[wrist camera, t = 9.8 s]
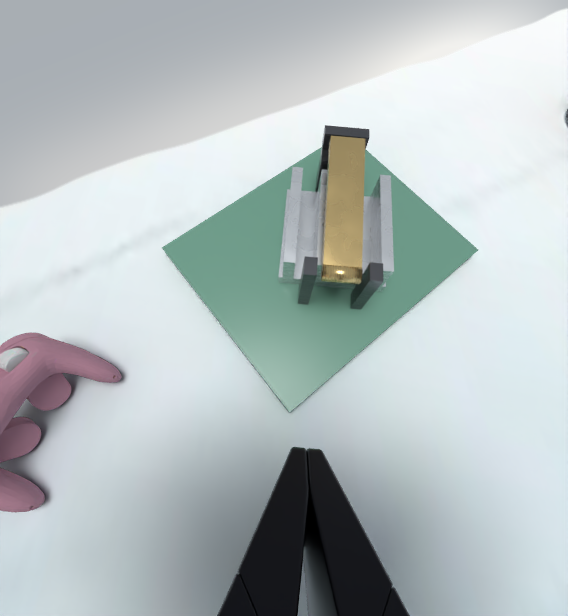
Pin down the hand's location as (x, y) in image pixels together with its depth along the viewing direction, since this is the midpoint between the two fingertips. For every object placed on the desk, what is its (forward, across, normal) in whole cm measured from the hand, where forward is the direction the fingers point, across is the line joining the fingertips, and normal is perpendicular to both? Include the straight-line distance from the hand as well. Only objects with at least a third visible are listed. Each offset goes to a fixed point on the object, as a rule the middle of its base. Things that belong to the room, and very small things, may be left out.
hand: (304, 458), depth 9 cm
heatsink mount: (+20, -2, -2) cm, 20 cm away
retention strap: (+16, -2, -4) cm, 17 cm away
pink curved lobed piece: (+10, +16, +10) cm, 21 cm away
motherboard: (+20, -2, 0) cm, 20 cm away
